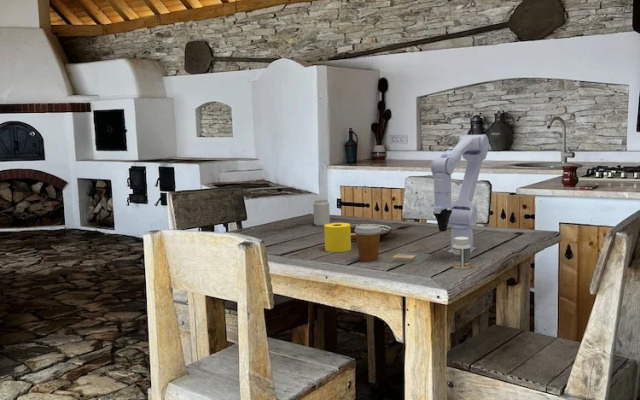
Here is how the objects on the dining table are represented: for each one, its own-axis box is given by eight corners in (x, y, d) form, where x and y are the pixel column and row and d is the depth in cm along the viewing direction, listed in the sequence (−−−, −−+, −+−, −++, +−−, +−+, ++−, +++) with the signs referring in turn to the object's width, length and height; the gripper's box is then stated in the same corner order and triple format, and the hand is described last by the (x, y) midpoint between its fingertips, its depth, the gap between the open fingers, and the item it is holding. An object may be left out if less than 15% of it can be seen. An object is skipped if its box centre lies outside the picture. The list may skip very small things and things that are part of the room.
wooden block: (397, 253, 216) (392, 256, 212) (416, 255, 213) (411, 258, 209) (397, 258, 216) (392, 261, 212) (416, 259, 213) (411, 262, 209)
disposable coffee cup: (359, 256, 223) (358, 223, 222) (385, 257, 220) (384, 224, 218) (351, 262, 214) (350, 228, 213) (377, 263, 211) (377, 229, 209)
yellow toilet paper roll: (321, 248, 239) (320, 224, 238) (344, 245, 243) (344, 222, 242) (330, 253, 230) (330, 228, 229) (355, 250, 234) (354, 225, 232)
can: (312, 224, 293) (311, 199, 292) (327, 223, 295) (326, 198, 294) (316, 227, 286) (315, 201, 284) (331, 225, 288) (331, 200, 287)
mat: (400, 253, 226) (400, 251, 226) (432, 255, 221) (432, 254, 221) (385, 262, 212) (385, 261, 212) (418, 265, 207) (418, 264, 207)
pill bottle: (467, 265, 205) (467, 235, 204) (472, 269, 199) (472, 239, 198) (450, 265, 205) (450, 236, 204) (455, 270, 199) (455, 239, 198)
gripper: (437, 189, 220) (437, 226, 222) (425, 194, 207) (425, 234, 209) (456, 189, 217) (456, 227, 219) (445, 195, 204) (445, 235, 206)
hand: (442, 231), depth 214 cm, fingers closed
